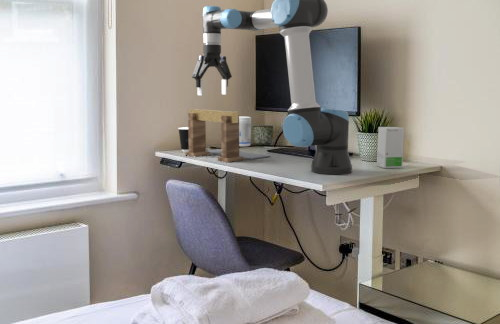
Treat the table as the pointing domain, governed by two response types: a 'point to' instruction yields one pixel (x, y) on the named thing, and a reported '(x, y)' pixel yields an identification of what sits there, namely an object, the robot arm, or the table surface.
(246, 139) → the supplement tub
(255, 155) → the charcoal rubber mat
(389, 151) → the skincare box
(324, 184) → the table surface
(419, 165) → the table surface
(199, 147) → the walnut rail stand
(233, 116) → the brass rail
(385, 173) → the table surface
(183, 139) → the dixie cup
